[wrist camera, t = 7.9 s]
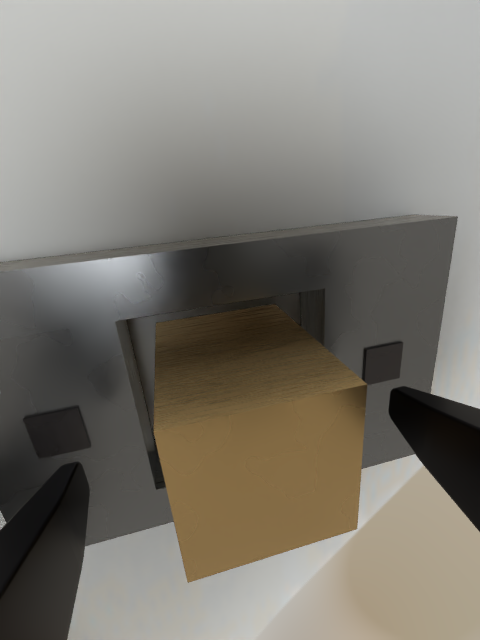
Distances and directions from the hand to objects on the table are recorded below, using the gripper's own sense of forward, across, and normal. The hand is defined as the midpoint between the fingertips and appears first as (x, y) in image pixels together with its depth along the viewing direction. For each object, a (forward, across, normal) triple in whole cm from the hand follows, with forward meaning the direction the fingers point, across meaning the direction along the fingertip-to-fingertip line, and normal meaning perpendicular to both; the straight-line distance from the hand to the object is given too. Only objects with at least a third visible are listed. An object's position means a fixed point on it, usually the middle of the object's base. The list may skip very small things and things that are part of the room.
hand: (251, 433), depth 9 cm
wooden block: (+4, 0, 0) cm, 4 cm away
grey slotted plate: (+4, 0, 0) cm, 4 cm away
